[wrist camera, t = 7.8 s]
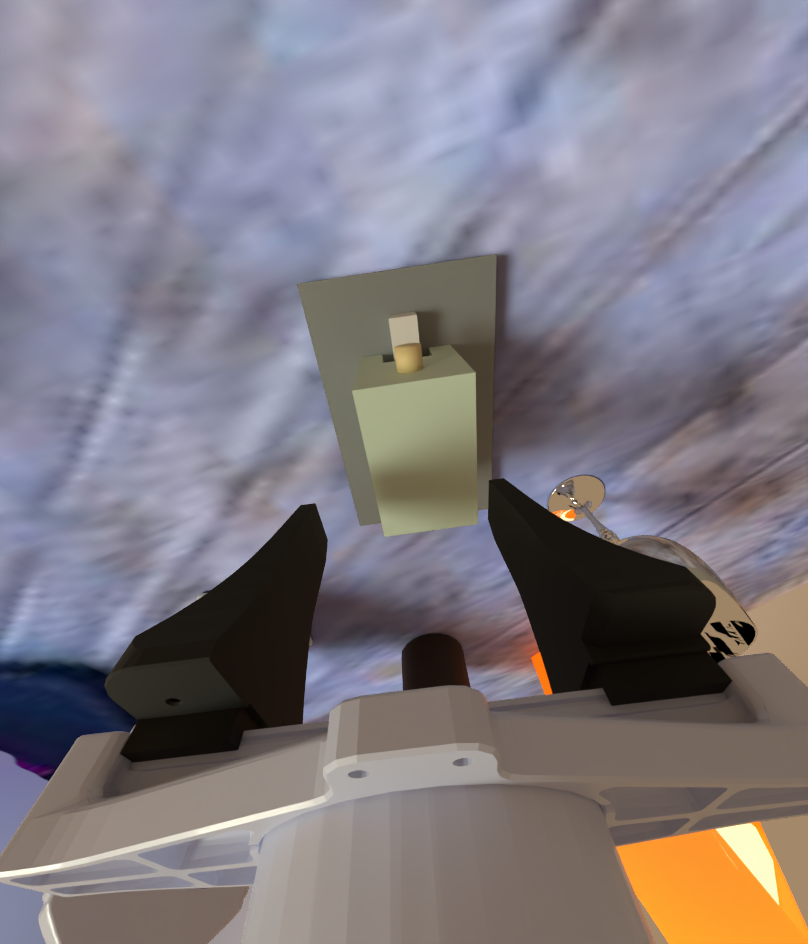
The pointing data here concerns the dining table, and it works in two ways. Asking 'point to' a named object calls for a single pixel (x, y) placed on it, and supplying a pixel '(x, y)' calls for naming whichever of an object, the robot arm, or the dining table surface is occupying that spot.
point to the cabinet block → (420, 437)
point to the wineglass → (729, 620)
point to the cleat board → (400, 322)
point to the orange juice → (711, 883)
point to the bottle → (433, 663)
